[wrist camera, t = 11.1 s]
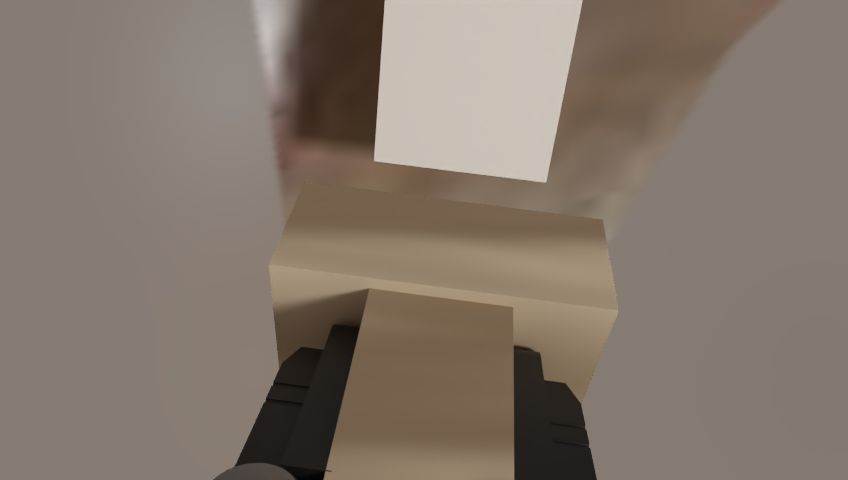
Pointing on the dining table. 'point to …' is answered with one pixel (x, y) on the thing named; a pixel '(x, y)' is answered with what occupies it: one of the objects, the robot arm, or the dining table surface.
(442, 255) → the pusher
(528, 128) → the sweep board
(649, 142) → the dining table surface
